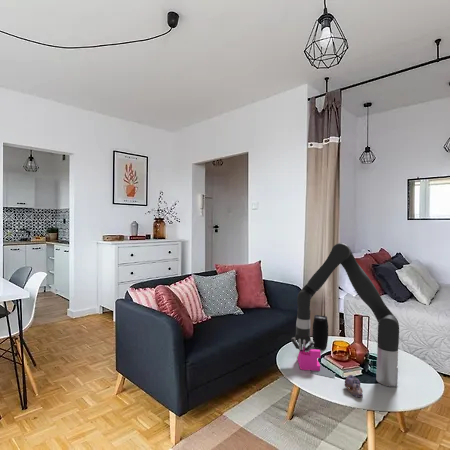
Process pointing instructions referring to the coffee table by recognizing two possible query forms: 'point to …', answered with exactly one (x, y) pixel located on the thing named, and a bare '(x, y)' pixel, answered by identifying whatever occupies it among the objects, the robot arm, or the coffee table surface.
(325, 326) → the portable speaker
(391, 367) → the robot arm
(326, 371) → the grey mat
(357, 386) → the purple rock
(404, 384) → the coffee table surface
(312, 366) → the bracket
